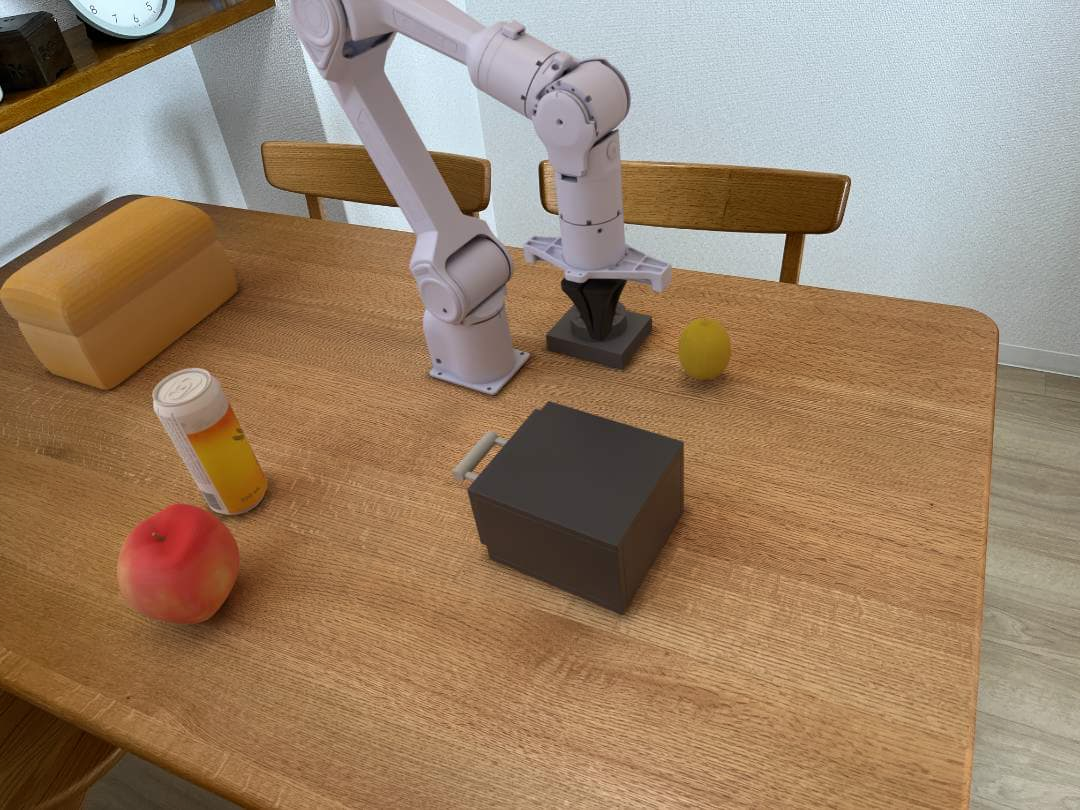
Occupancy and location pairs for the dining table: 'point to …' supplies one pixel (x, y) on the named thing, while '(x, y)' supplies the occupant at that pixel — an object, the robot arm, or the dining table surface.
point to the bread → (120, 290)
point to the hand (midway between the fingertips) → (601, 334)
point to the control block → (612, 351)
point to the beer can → (210, 440)
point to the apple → (178, 565)
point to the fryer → (583, 503)
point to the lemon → (704, 349)
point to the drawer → (474, 459)
